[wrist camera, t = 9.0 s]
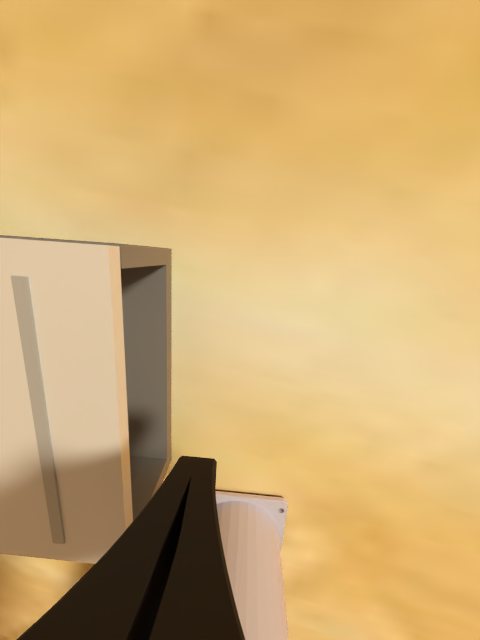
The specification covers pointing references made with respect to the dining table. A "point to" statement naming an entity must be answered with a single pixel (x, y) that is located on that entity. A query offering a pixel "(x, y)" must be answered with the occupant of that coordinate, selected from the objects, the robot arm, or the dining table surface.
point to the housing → (145, 362)
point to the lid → (62, 401)
